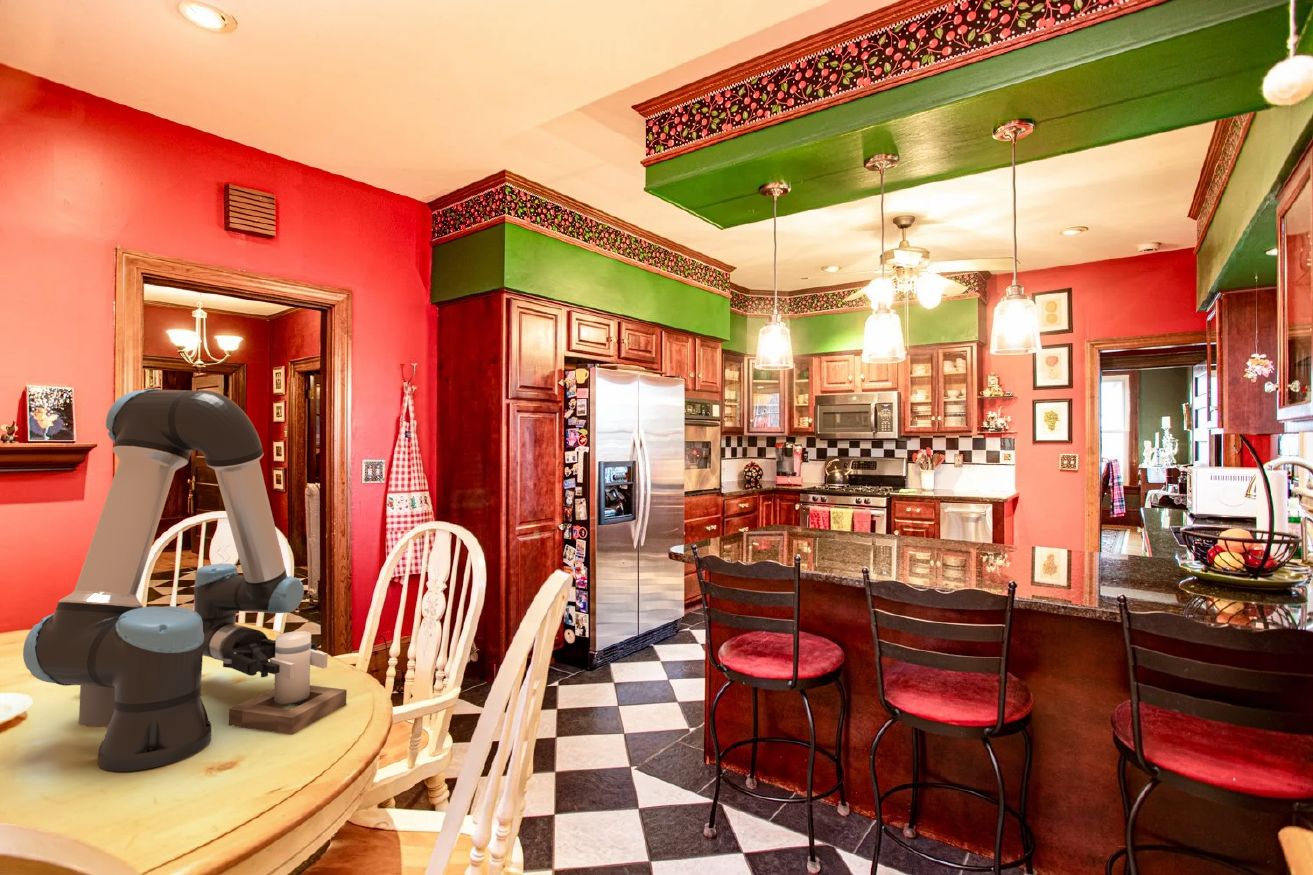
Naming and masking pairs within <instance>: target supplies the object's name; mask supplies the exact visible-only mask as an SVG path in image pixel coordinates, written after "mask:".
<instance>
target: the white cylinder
mask: <svg viewBox="0 0 1313 875" xmlns="http://www.w3.org/2000/svg"><path fill="white" fill-rule="evenodd" d="M275 640H276V644H275V658H277V659H280V660H284V661H287V662H290V663H294V664H295V665H294V678H293V679H287V678H284V677H281V676H278V675H275V674H274V684H273V685H274V688H273V689H274V701H275V702H276V703H281V704H286V703H294V702H298V701H301V700H304V699H306V698H307V697H309V694H310V685H311V665H310V657H311V643H312V633H311V632H310V631H306V630H305V631H304V630H295V631H289V632H284V633H281V634H279V635H277V636H276V637H275Z"/></svg>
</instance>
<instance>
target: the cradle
mask: <svg viewBox="0 0 1313 875" xmlns="http://www.w3.org/2000/svg"><path fill="white" fill-rule="evenodd" d="M347 691H348V690H347V689H345V688H336V687H327V686H320V685H311V684H310V694H309V697H307V698H306V699H304V700H301V701H298V702H294V703H286V704H281V703H276V702H275V701H274V688H273V689H271V690H268V691H267V692H264V693H262V694H260V695H258V696H255V697H252V698H251V699H249V700H246V701H244V702H242V703H240V704H237V705H235V706H232V707H230V708H228V726H231V725H234V726H233V727H237V726H238V727H239V728H246V729H253V730H259V731H267V732H272V731H274V732H275V733H279V734H287V735H293V734H294V735H295V733H297V732H299V731H302V729H304V728H306V727H308V726H310V725H311V724H313V723H315V722H318V721H319V720H321V719H322V718H325V717H326V716H328V715H330V714H332V713H334V712H335V711H337V710H339V709H340V708H343V707H344V706H345V707H346V705H347V694H348V693H347ZM288 705H293V706H295V707H294V708H285V707H287V706H288ZM274 732H273V733H274Z"/></svg>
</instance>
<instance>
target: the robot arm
mask: <svg viewBox="0 0 1313 875" xmlns="http://www.w3.org/2000/svg"><path fill="white" fill-rule="evenodd" d="M105 428H106V430H108V432H107V435H108V436H109V439H110V440H111V441H112V442H113V443H114V444H113V447H112V452H113V454H114V455H115V456H116V457H117V458H118V463H117V468H116V469H115V473H114V476H113V479H112V482H111V485H110V487H109V489H108V493H107V496H106V498H105V501H104V504H103V508H102V510H101V513H100V516H99V518H98V522H97V524H96V528H95V531H94V533H93V536H92V539H91V541H90V544H89V548H88V551H87V553H86V556H85V559H84V562H83V565H82V568H81V571H80V574H79V577H78V578H77V581H76V585H75V588H74V590H73V591H72V592H71V593H70V594H68V595H66V596H64V597H62V598H61V599H59V600H58V603H57V606H56V608H55V610H54V613H51V614H49V615H47V616H45V617H43V618H42V619H40V622H38V623H36V624H34V625H33V627H32V628H31V629H30V630H29V632H28V634H27V636H26V639H25V640H24V644H23V647H22V648H23V649H22V656H23V657H22V658H23V662H24V665H25V667H26V669H27V670H29V672H30V674H31V675H32V676H33V677H34V678H35V679H37V680H39V681H41V682H45V683H50V684H56V685H59V686H64V687H67V686H68V687H69V686H80V685H83V686H100V687H115V701H114V713H113V716H112V718H111V721H110V723H109V725H108V726H107V729H106V732H105V734H104V737H103V740H102V741H101V743H100V745H99V747H98V750H97V751H98V753H97V765H98V766H99V767H100V769H104V770H106V771H112V772H134V771H143V770H149V769H154V768H158V767H161V766H166V765H169V764H173V763H176V762H179V761H181V760H184V759H186V758H188V757H190V756H193V755H194V754H196V753H198V752H200V751H202V750H203V749H205V748H206V747H207V746H208V745H209V744H210V742H211V741H212V724H211V721H210V719H209V717H208V713H207V711H206V707H205V705H204V703H203V700H202V697H201V695H202V694H201V693H202V692H201V691H202V675H203V672H202V670H203V657H208V658H212V659H214V660H217V661H220V662H222V667H223V668H227V669H228V668H229V669H233V670H235V671H238V672H241V673H243V674H244V675H248V676H251V677H252V676H256V675H257V673H260V678H267V677H268V676H269V674H271V675H274V676H275V675H278V676H281V677H284V678H287V679H293V678H294V665H295V664H294V663H290V662H287V661H284V660H280V659H277V658H275V644H276V639H275V640H274V639H270V638H268V636H267V635H266V634H265V633H264V632H263V631H261V630H259V629H255V628H251V627H248V626H245V625H240V624H236V620H237V619H236V618H237V612H252V613H268V614H285V613H286V614H287V613H292V612H293V611H294V610H296V609H297V608H299V606H300V604H301V602H302V601H303V597H304V594H305V592H304V591H305V590H304V589H305V588H304V585H303V582H302V581H301V580H300V579H299V578H298V577H293V576H288V574H287V570H286V566H285V563H284V562H285V561H284V558H283V554H282V551H281V546H280V545H281V544H280V542H279V539H278V533H277V530H276V525H275V520H274V517H273V512H272V509H271V505H270V499H269V496H268V493H267V488H266V484H265V480H264V474H263V471H262V466H261V462H260V460H261V459H262V458H263V456H264V454H265V453H264V451H263V445H262V441H261V439H260V436H259V434H258V432H257V430H256V428H255V426H254V424H253V422H252V421H251V419H250V418H249V416H248V415H247V414H246V412H245V411H244V410H243V409H242V408H241V407H240V406H239V405H238V404H237V403H236V402H234V401H233V400H232V399H230V398H229V397H228V396H226V395H223V394H222V393H219V392H217V391H212V390H206V389H205V390H204V389H197V390H196V389H195V390H187V389H186V390H184V389H183V390H180V389H179V390H178V389H161V388H149V389H145V390H143V389H142V390H141V389H140V390H134V391H130V392H129V393H126V394H122V396H120V397H119V398H118V399H117V400H115V401H114V403H113V404H112V405H111V407H110V408H109V410H108V412H107V415H106V419H105ZM192 451H199V452H200V453H201V454H202V455H203V457H204V460H205V464H206V467H209V468H210V469H212V470H214V472H215V476H216V480H217V483H218V487H219V488H218V489H219V491H220V494H221V498H222V501H223V505H224V509H225V512H226V516H227V520H228V523H229V527H230V530H231V534H232V537H233V541H234V546H235V549H236V552H237V555H238V560H239V563H240V568H241V570H242V574H243V575H242V574H239V571H238V567H237V565H235V564H232V563H213V564H207V565H203V566H201V567H199V568H198V569H197V570H196V572H195V580H194V586H193V610H192V609H191V608H187V607H180V606H175V605H174V606H173V605H172V606H170V605H165V606H158V605H157V606H156V605H155V606H154V605H152V606H145V607H144V605H143V604H142V602H140V600H139V599H138V597H137V594H138V591H139V587H140V583H141V582H142V578H143V574H144V571H145V568H146V564H147V562H148V559H149V555H150V552H151V549H152V546H153V544H154V540H155V537H156V534H157V530H158V526H159V523H160V520H161V519H162V518H161V517H162V515H163V511H164V508H165V505H166V501H167V498H168V495H169V491H170V488H171V485H172V482H173V480H174V476H175V473H176V471H178V470H179V469H181V468H183V467H185V466H186V465H188V464H189V461H190V456H191V453H192ZM310 666H313V667H316V668H317V667H318V668H321V669H327V668H328V653H326V652H323V651H319V650H318V643H314V642H311V657H310Z"/></svg>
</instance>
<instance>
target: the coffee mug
mask: <svg viewBox="0 0 1313 875" xmlns="http://www.w3.org/2000/svg"><path fill="white" fill-rule="evenodd" d="M79 686H80V688H79V689H80V690H79V710H78V712H79V713H78V714H79V715H78V716H79V717H78V724H79V725H81V726H82V727H89V728H91V727H92V728H95V727H105V726H106V727H108V726H109V723H110V721H111V718H112V716H113V713H114V701H115V687H100V686H83V685H79ZM107 725H108V726H107Z"/></svg>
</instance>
